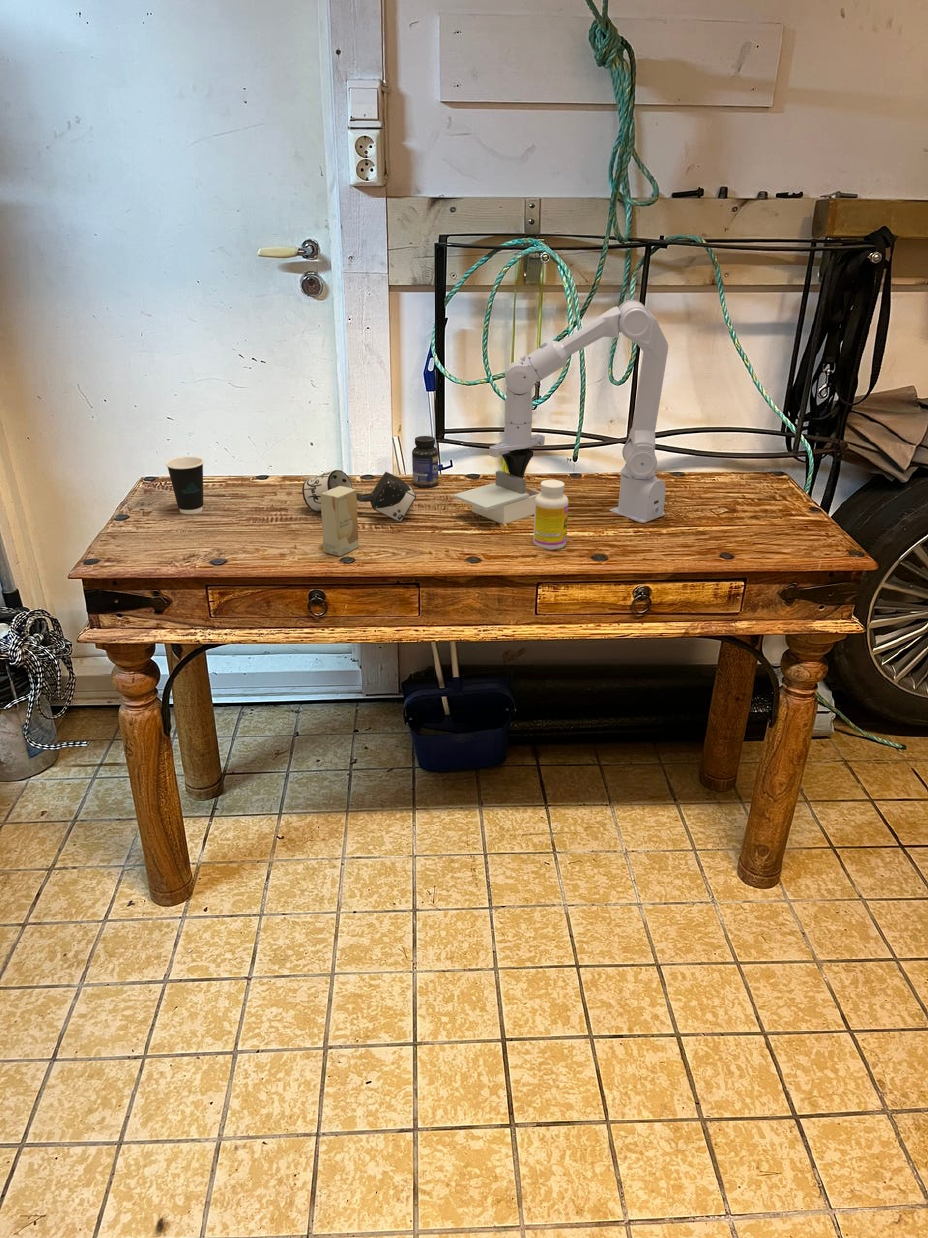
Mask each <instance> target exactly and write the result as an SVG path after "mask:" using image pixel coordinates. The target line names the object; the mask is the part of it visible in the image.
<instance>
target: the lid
mask: <svg viewBox="0 0 928 1238" xmlns="http://www.w3.org/2000/svg"><path fill="white" fill-rule="evenodd" d="M526 481H527V480H526V478H524V477H523V478H520V477H517V476H514V475H512V474H509V472H506V471H504V470H503V471H502V470H496V471H495V482H491V483H488V484H486V485H485V484H484V485H482V486H478V487H476V488H472V489H469V490H465V491H464V490H463V491H462V492H458V493H455V494H452V498H453V499H456V500H459V501H461V502H463V503H466V504H468V505H471V506H472V505H474V506H476V507H479V508H481V509H484V510H489V509H492V508H496V507H499V506H502V505H505V504H508V503H512V502H515V501H518V500H521V499H524V498H528V497H529V494H527V493H525V488H526V487H527V486H526V483H527V482H526Z"/></svg>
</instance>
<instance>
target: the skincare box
mask: <svg viewBox="0 0 928 1238" xmlns="http://www.w3.org/2000/svg"><path fill="white" fill-rule="evenodd" d="M352 488H353V487H352ZM352 488H348V487H344V486H338V487H336V488H333V489H330V490H328V491H326V492H323V493H321V494H320V495H321V527H322V528H321V529H322V547H323V548H322V550H323V553H326V554H330V555H334V556H338V557H341V556H343V555H345V554H347V553H349V552H351V551H353V550H355V549H358V548H359V529H358V528H359V526H358V524H359V523H358V502H357V501H358V500H357V496H356V493H357V489H356V488H353V489H352ZM357 547H358V548H357Z"/></svg>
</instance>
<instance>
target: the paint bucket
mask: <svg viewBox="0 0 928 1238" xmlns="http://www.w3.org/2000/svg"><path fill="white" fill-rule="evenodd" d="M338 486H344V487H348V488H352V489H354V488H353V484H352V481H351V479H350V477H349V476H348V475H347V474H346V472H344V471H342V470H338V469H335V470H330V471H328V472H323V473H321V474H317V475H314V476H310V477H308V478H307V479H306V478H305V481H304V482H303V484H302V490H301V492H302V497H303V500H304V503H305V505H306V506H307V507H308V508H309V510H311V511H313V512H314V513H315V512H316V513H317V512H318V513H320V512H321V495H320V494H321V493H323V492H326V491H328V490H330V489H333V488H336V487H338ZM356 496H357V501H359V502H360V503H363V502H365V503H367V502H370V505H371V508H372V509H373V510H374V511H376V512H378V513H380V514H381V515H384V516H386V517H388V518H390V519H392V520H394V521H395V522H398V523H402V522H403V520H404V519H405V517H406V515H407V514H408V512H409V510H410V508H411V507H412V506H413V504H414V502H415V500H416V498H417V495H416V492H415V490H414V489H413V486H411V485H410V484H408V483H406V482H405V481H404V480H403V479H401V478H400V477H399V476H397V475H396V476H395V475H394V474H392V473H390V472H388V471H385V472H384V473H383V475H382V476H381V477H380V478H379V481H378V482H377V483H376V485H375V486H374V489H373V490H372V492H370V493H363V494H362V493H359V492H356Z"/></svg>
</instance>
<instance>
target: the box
mask: <svg viewBox="0 0 928 1238" xmlns="http://www.w3.org/2000/svg"><path fill="white" fill-rule="evenodd" d="M525 491H527V492H528V494H529V497H528V498H524V499H521V500H518V501H515V502H512V503H508V504H505V505H502V506H499V507H496V508H492V509H489V510H484V509H481V508H479V507H476V506H474V505H471V512H472V513H475V514H477V515H479V516H482V517H485V518H486V519H488V520H492V521H495V522H497V523H499V524H502V525H506V524H509V523H513V522H515V521H519V520H521V519H524V518H527V517H530V516H533V515H534V513H535V498H536V497H537V495H539V494H540V493H541V490H540V491H539V490H538V489H535V488H531V487H529V486H526V488H525Z"/></svg>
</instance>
